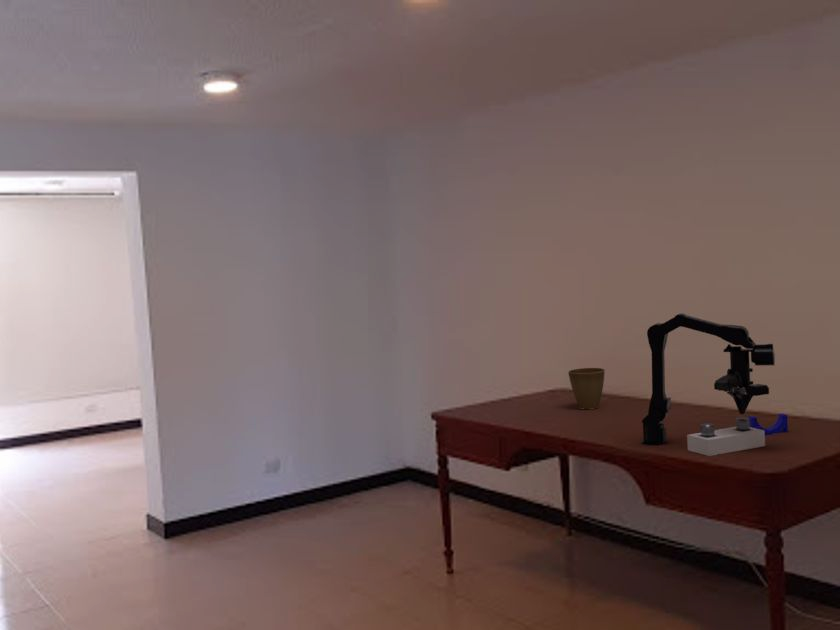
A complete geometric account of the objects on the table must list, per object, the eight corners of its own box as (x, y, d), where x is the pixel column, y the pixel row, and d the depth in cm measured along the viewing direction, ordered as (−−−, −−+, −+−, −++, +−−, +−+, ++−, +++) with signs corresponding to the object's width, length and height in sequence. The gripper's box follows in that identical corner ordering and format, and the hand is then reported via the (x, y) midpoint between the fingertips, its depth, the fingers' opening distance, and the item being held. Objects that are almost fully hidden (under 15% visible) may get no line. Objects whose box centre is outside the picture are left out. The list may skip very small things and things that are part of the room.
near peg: (698, 439, 271) (698, 424, 271) (708, 437, 273) (708, 422, 272) (707, 441, 268) (706, 426, 267) (717, 439, 269) (716, 424, 269)
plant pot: (576, 404, 368) (574, 367, 367) (610, 405, 361) (608, 367, 360) (565, 411, 355) (563, 373, 354) (601, 412, 348) (599, 372, 347)
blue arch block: (755, 436, 287) (754, 418, 287) (749, 433, 292) (748, 416, 292) (790, 433, 288) (789, 415, 288) (783, 431, 293) (783, 413, 292)
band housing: (687, 450, 274) (687, 434, 273) (742, 440, 282) (741, 425, 281) (709, 456, 264) (708, 440, 264) (765, 446, 272) (764, 430, 272)
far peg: (733, 432, 276) (733, 418, 276) (743, 431, 278) (743, 417, 278) (742, 434, 273) (742, 420, 272) (752, 433, 274) (752, 418, 274)
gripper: (699, 365, 280) (702, 413, 281) (740, 371, 262) (743, 421, 263) (727, 362, 284) (729, 408, 285) (769, 367, 266) (771, 417, 267)
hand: (742, 414), depth 275 cm, fingers closed
